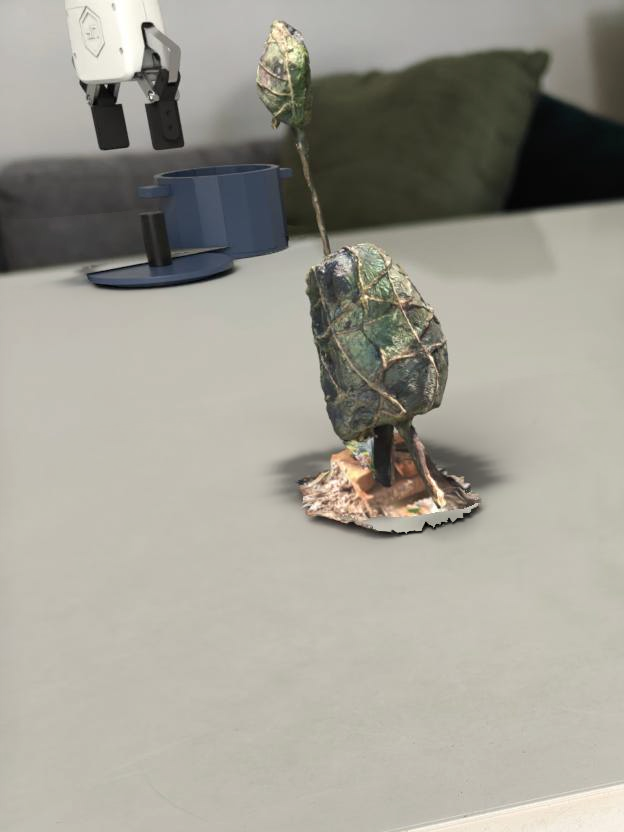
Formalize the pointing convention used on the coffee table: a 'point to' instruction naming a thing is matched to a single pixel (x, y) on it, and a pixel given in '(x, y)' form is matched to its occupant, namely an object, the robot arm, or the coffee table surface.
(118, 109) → the robot arm
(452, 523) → the coffee table surface
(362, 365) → the plant with pod
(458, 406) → the coffee table surface
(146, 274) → the lid
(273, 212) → the pot
